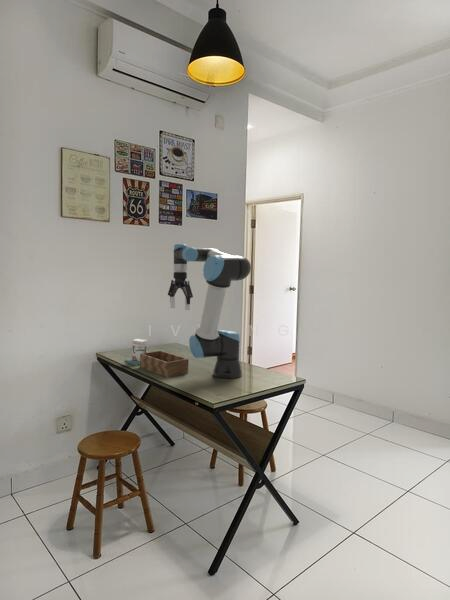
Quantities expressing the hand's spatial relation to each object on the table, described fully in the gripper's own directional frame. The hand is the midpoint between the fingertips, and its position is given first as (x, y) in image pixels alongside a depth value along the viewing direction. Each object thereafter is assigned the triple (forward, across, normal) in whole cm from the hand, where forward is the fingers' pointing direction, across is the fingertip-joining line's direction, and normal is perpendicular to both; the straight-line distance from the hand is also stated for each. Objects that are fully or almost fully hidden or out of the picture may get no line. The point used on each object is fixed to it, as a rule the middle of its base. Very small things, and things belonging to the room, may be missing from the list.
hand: (179, 309), depth 238 cm
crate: (+31, -7, +16) cm, 36 cm away
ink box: (+30, +16, +16) cm, 38 cm away
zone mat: (+31, +16, +16) cm, 39 cm away
